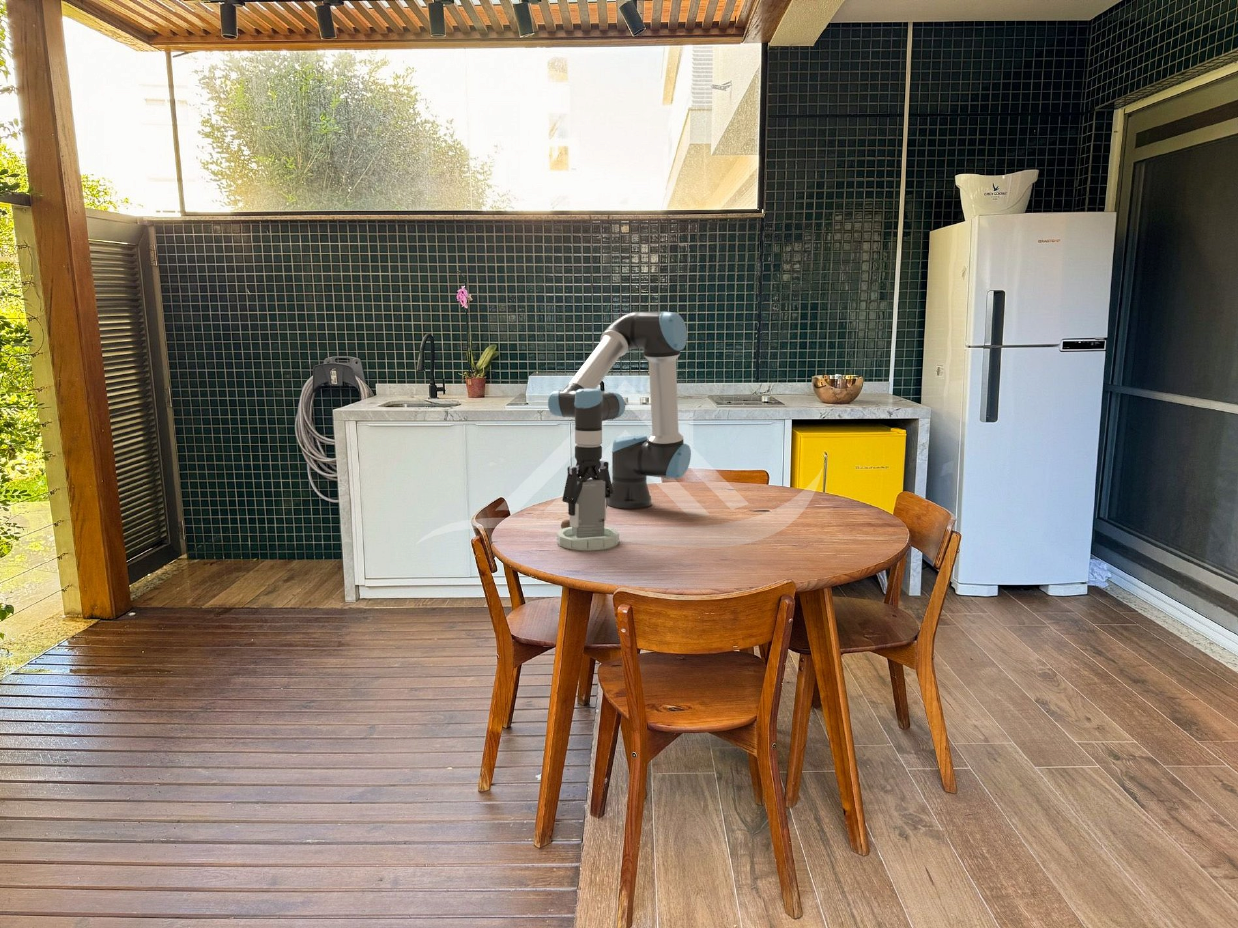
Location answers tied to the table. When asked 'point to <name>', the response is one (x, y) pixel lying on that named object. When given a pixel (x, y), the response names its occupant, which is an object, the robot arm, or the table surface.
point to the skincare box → (591, 509)
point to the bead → (565, 524)
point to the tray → (588, 540)
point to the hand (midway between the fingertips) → (588, 523)
